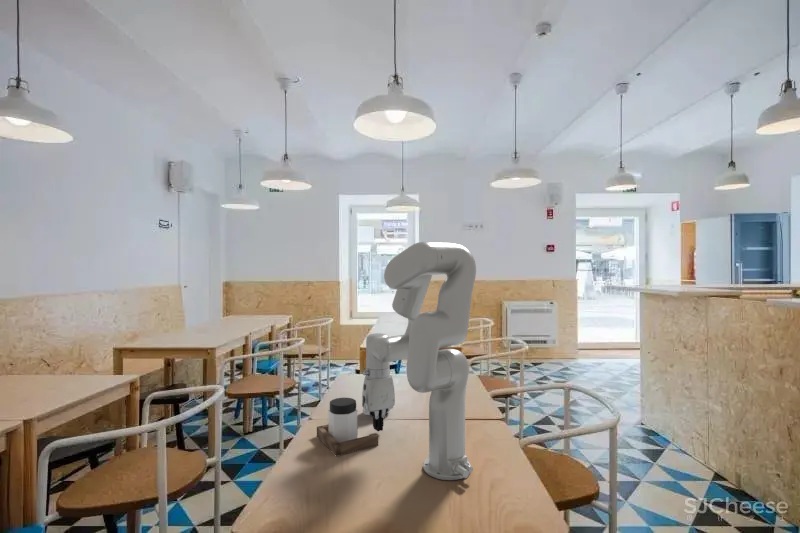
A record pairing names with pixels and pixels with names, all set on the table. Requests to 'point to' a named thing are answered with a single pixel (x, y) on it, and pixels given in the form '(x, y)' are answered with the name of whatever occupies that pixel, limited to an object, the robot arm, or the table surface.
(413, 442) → the table surface
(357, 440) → the walnut bay
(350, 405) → the jar
